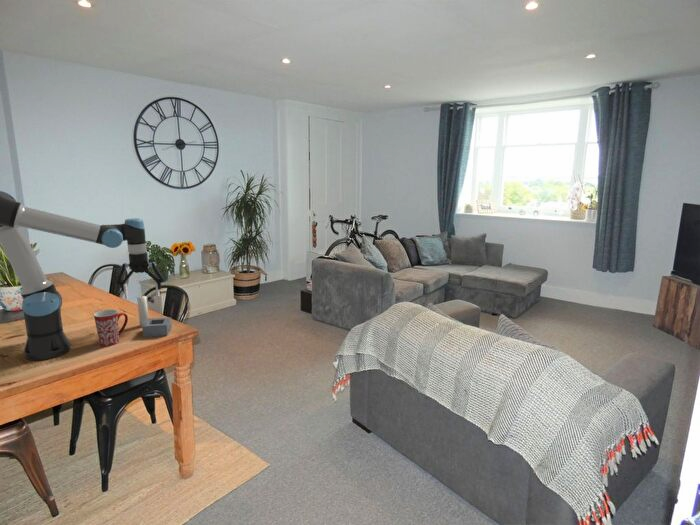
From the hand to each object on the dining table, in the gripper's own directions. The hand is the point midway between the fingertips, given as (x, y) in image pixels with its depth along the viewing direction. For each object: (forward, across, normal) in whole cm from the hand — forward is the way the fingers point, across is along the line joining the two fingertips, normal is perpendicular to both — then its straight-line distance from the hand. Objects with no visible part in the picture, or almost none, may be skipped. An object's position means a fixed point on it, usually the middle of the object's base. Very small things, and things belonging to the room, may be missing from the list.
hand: (142, 297), depth 196 cm
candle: (+14, 0, 0) cm, 14 cm away
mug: (+14, +8, +18) cm, 24 cm away
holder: (+14, -8, +10) cm, 19 cm away
